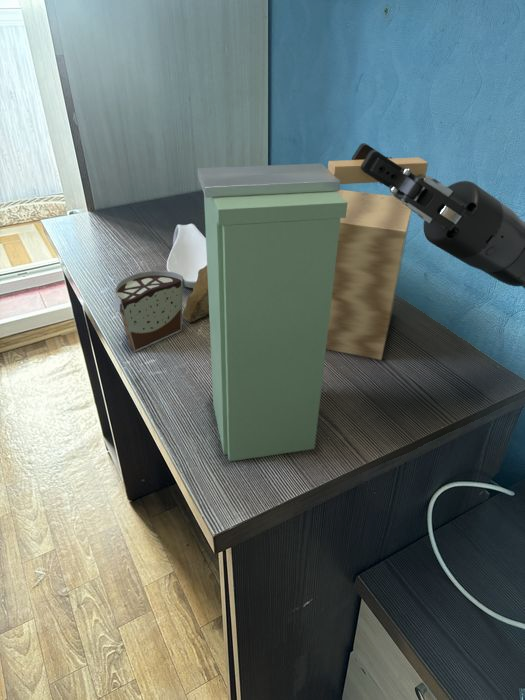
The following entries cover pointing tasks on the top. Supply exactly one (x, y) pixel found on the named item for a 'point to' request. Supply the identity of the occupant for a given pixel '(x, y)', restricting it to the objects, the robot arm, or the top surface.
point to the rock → (198, 298)
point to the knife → (291, 177)
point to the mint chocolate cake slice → (150, 306)
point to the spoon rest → (187, 253)
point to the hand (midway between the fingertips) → (362, 156)
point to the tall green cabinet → (270, 316)
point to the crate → (366, 272)
